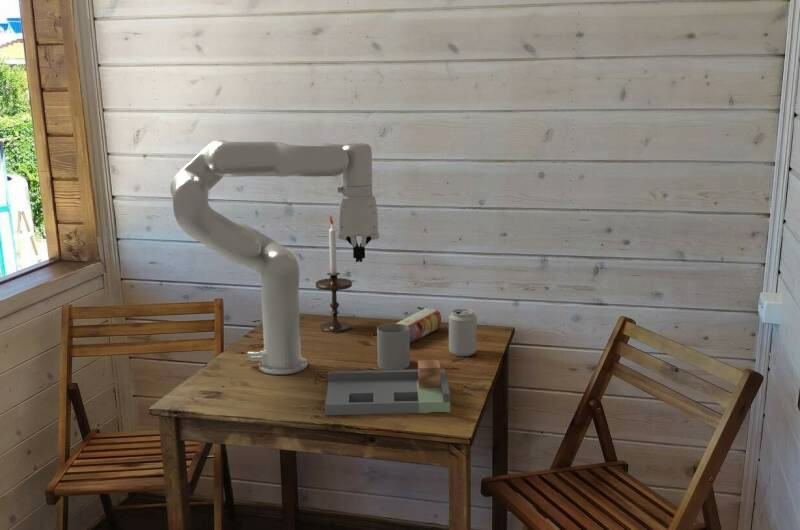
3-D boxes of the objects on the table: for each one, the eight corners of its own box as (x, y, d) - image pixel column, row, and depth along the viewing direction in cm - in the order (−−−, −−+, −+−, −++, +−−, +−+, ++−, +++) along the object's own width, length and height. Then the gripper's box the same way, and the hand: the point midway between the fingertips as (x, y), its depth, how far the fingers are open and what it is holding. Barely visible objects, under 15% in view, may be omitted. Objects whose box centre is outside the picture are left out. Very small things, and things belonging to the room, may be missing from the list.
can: (459, 347, 227) (459, 305, 224) (481, 352, 222) (482, 310, 220) (443, 354, 221) (443, 311, 219) (465, 359, 217) (466, 316, 214)
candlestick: (332, 336, 238) (328, 218, 230) (310, 328, 246) (305, 214, 238) (360, 328, 245) (357, 214, 237) (338, 321, 253) (334, 210, 245)
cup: (406, 371, 209) (405, 333, 207) (374, 369, 210) (374, 332, 208) (412, 360, 217) (411, 324, 215) (381, 358, 218) (381, 322, 216)
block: (419, 388, 190) (419, 367, 189) (418, 380, 195) (417, 360, 194) (440, 387, 190) (440, 367, 189) (438, 380, 195) (438, 360, 194)
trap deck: (325, 415, 182) (324, 396, 181) (329, 388, 197) (328, 371, 196) (450, 412, 182) (450, 393, 181) (444, 386, 198) (444, 368, 197)
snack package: (403, 350, 226) (403, 327, 224) (383, 346, 229) (383, 323, 228) (442, 330, 243) (442, 309, 241) (423, 327, 246) (423, 305, 245)
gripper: (327, 193, 206) (329, 264, 210) (386, 193, 206) (387, 263, 210) (330, 190, 214) (332, 258, 218) (387, 189, 213) (388, 257, 217)
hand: (359, 260), depth 214 cm, fingers closed
